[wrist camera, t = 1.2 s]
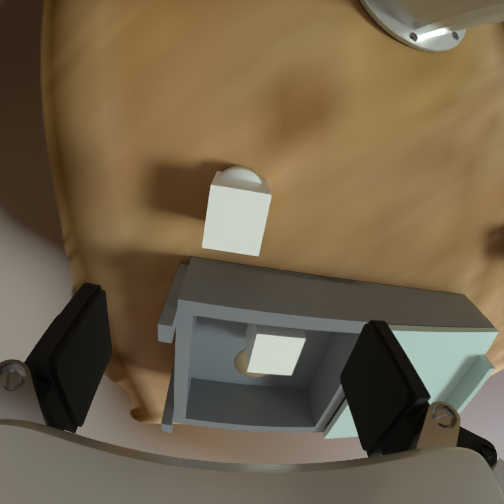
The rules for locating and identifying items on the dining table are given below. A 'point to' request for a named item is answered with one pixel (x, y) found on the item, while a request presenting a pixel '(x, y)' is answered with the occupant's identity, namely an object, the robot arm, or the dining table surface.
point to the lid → (436, 367)
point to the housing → (282, 315)
